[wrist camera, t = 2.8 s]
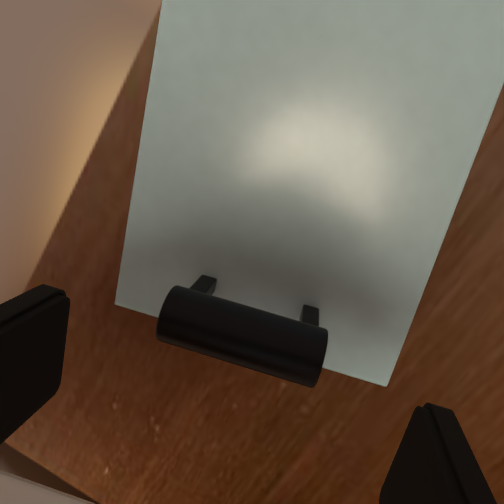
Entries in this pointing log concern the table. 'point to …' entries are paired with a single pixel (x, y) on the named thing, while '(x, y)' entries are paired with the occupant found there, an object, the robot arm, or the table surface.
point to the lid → (304, 174)
